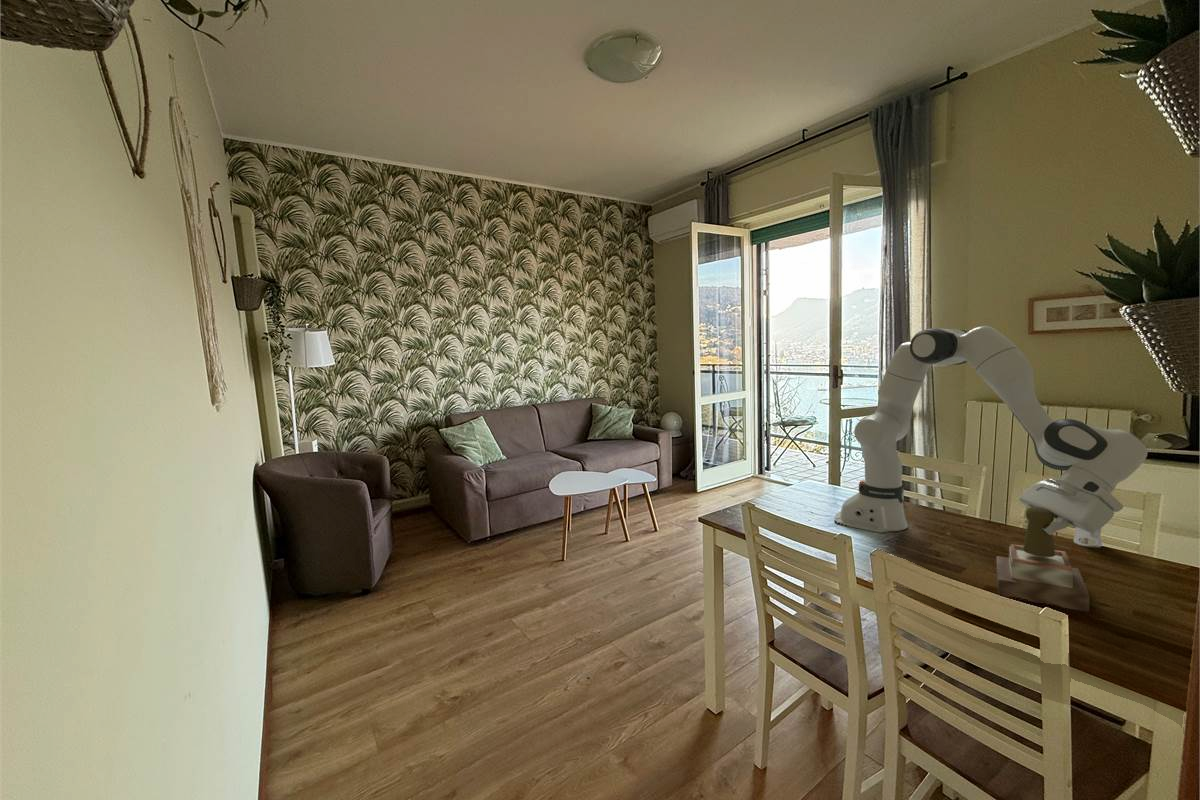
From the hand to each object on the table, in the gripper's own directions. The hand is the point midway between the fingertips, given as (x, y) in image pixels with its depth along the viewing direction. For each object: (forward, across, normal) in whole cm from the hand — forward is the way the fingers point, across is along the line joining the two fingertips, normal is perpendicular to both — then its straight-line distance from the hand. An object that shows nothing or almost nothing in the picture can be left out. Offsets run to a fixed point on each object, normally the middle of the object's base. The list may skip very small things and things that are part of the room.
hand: (1036, 528), depth 123 cm
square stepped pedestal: (+11, 0, +12) cm, 16 cm away
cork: (+4, 0, +5) cm, 6 cm away
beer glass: (-13, -27, +35) cm, 46 cm away
